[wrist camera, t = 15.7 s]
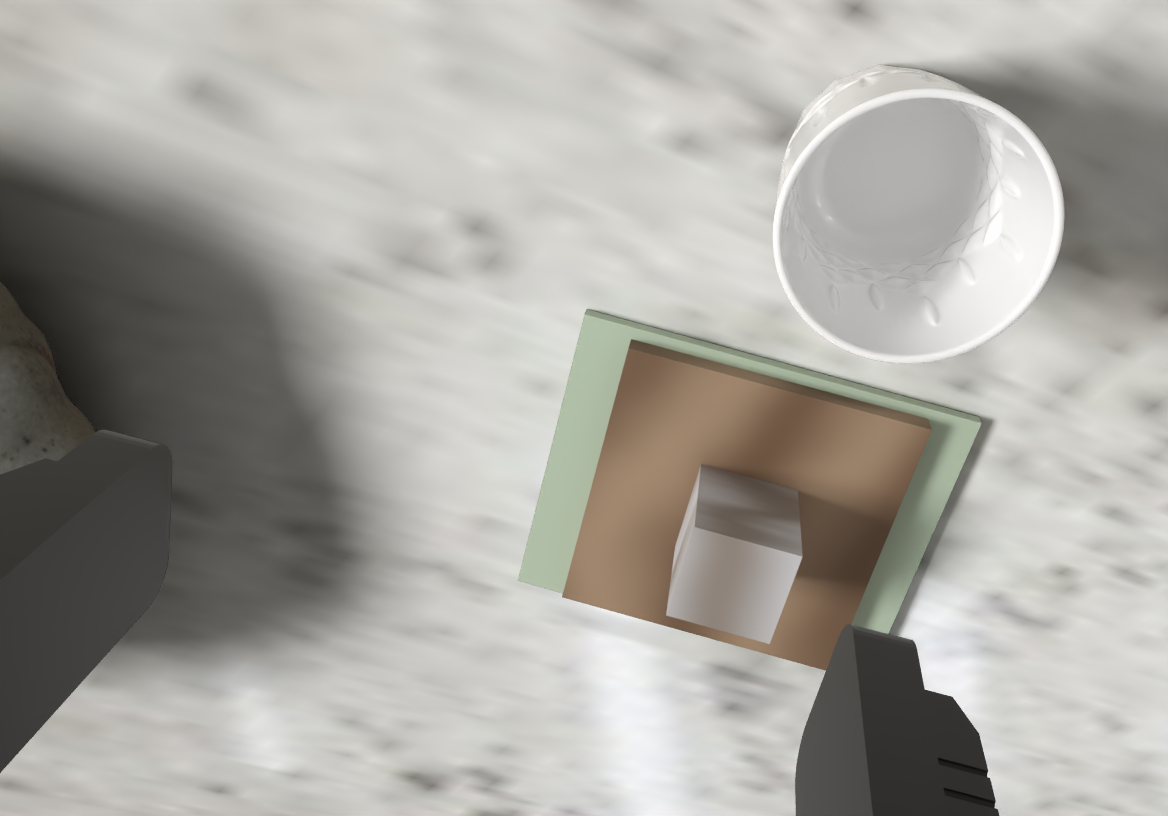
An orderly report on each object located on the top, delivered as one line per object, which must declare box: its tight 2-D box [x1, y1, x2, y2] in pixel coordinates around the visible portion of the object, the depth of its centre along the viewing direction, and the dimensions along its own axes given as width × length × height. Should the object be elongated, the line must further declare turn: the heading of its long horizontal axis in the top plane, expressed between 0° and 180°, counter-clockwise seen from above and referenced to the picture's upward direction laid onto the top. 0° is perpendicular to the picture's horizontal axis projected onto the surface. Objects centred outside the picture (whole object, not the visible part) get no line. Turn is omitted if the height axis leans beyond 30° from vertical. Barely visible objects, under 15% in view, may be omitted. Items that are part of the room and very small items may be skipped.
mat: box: [518, 309, 982, 634], centre depth 46 cm, size 16×13×1 cm
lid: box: [562, 339, 932, 670], centre depth 43 cm, size 12×12×6 cm
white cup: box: [773, 65, 1065, 364], centre depth 35 cm, size 8×8×10 cm
